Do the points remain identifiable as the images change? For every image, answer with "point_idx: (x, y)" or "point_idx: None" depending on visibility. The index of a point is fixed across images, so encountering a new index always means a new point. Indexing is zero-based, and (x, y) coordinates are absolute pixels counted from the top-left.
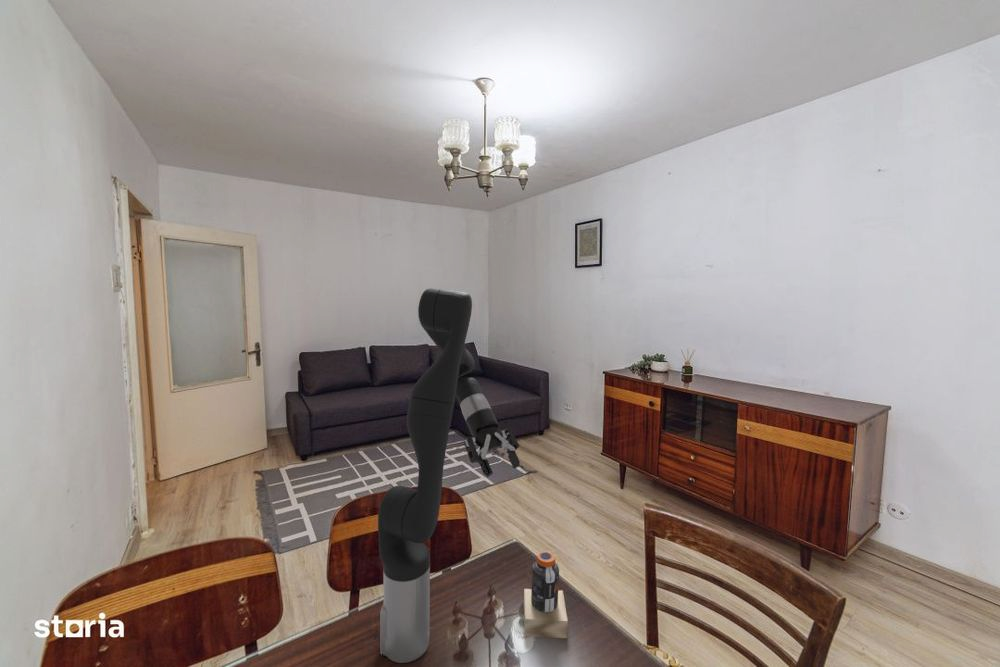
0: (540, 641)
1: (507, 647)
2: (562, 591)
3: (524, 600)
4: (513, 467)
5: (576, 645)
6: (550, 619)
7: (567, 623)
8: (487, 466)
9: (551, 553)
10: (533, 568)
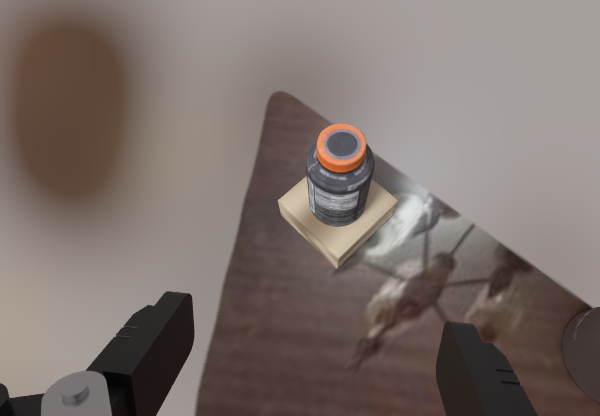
0: None
1: (433, 219)
2: (280, 199)
3: (361, 237)
4: (190, 347)
5: None
6: None
7: None
8: (493, 367)
9: (320, 142)
10: (369, 174)
